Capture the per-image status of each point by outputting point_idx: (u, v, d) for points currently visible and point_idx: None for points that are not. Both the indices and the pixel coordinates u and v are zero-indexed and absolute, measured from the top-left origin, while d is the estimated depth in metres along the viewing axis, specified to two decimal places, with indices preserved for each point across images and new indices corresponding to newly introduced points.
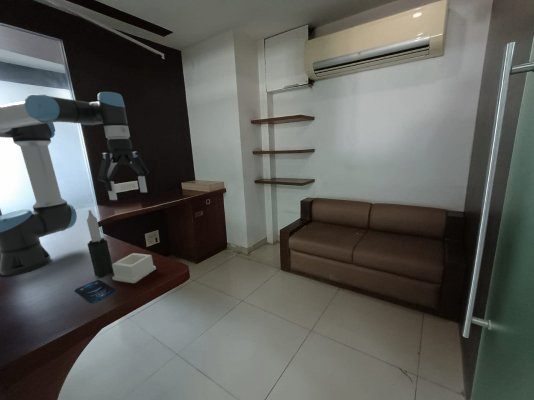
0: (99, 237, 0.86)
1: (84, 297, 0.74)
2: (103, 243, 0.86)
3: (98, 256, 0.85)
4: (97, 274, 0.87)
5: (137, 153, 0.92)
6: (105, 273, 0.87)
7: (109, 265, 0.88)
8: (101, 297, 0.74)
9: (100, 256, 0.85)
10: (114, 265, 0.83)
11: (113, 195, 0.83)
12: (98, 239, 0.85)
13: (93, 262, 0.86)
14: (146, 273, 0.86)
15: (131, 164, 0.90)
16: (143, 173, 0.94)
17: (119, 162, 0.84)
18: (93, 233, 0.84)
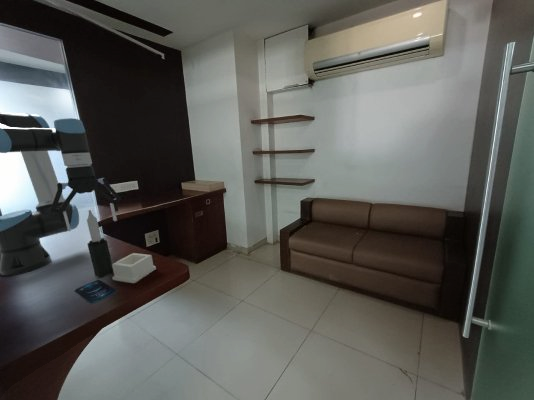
0: (99, 237, 0.86)
1: (84, 297, 0.74)
2: (103, 243, 0.86)
3: (98, 256, 0.85)
4: (97, 274, 0.87)
5: (104, 180, 0.84)
6: (105, 273, 0.87)
7: (109, 265, 0.88)
8: (101, 297, 0.74)
9: (100, 256, 0.85)
10: (114, 265, 0.83)
11: (66, 226, 0.79)
12: (98, 239, 0.85)
13: (93, 262, 0.86)
14: (146, 273, 0.86)
15: None
16: (112, 201, 0.87)
17: (74, 192, 0.79)
18: (93, 233, 0.84)
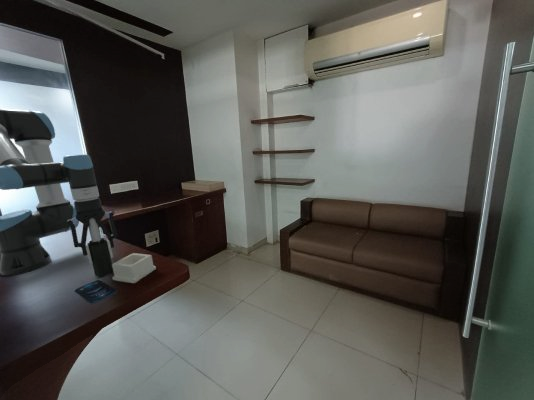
0: (99, 237, 0.86)
1: (84, 297, 0.74)
2: (103, 243, 0.86)
3: (98, 256, 0.85)
4: (97, 274, 0.87)
5: (110, 214, 0.87)
6: (105, 273, 0.87)
7: (109, 265, 0.88)
8: (101, 297, 0.74)
9: (100, 256, 0.85)
10: (114, 265, 0.83)
11: None
12: (98, 239, 0.85)
13: (93, 262, 0.86)
14: (146, 273, 0.86)
15: None
16: (109, 237, 0.88)
17: (86, 225, 0.82)
18: (93, 233, 0.84)
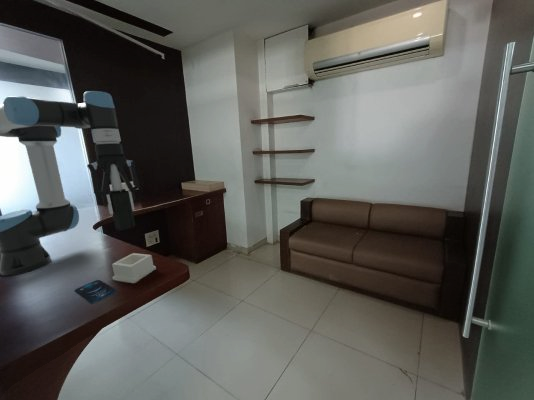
0: (120, 186, 0.79)
1: (84, 297, 0.74)
2: (125, 193, 0.80)
3: (120, 207, 0.78)
4: (118, 227, 0.80)
5: (132, 162, 0.81)
6: (127, 226, 0.81)
7: (130, 218, 0.82)
8: (101, 297, 0.74)
9: (121, 206, 0.79)
10: (114, 265, 0.83)
11: (109, 209, 0.78)
12: (119, 188, 0.79)
13: (114, 213, 0.80)
14: (146, 273, 0.86)
15: (120, 173, 0.80)
16: (130, 187, 0.81)
17: (107, 171, 0.76)
18: (114, 180, 0.78)
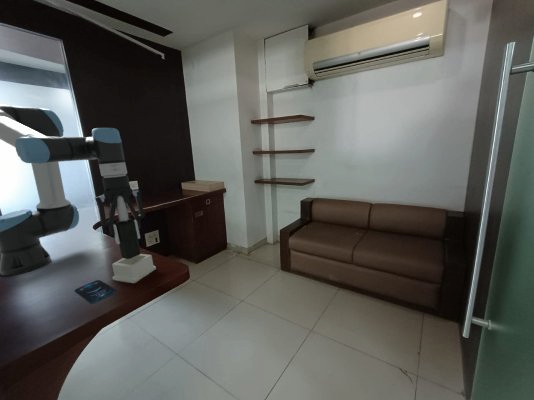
0: (127, 216, 0.82)
1: (84, 297, 0.74)
2: (131, 223, 0.82)
3: (126, 237, 0.81)
4: (124, 255, 0.82)
5: (138, 193, 0.83)
6: (133, 255, 0.83)
7: (136, 246, 0.84)
8: (101, 297, 0.74)
9: (128, 236, 0.81)
10: (114, 265, 0.83)
11: (116, 239, 0.81)
12: (126, 218, 0.81)
13: (120, 243, 0.82)
14: (146, 273, 0.86)
15: None
16: (136, 217, 0.84)
17: (114, 203, 0.78)
18: (121, 211, 0.80)
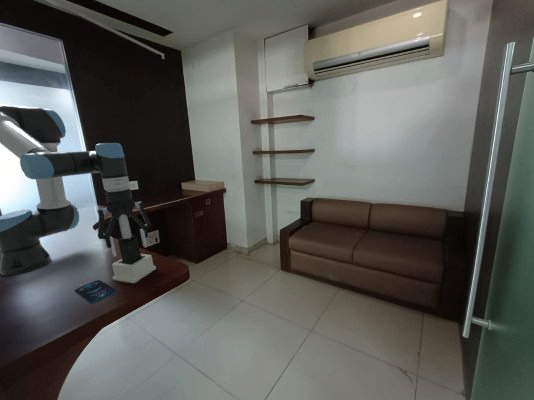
0: (130, 234, 0.83)
1: (84, 297, 0.74)
2: (134, 240, 0.83)
3: (129, 254, 0.82)
4: None
5: (141, 204, 0.84)
6: None
7: None
8: (101, 297, 0.74)
9: (131, 253, 0.83)
10: (114, 265, 0.83)
11: (112, 252, 0.81)
12: (129, 236, 0.83)
13: (124, 260, 0.83)
14: (146, 273, 0.86)
15: None
16: (143, 227, 0.86)
17: (115, 216, 0.79)
18: (124, 229, 0.82)
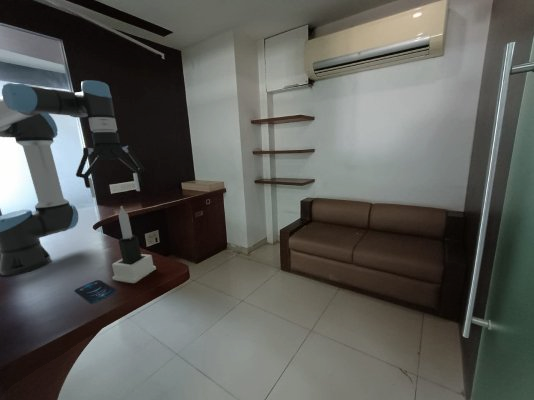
0: (130, 234, 0.83)
1: (84, 297, 0.74)
2: (134, 240, 0.83)
3: (129, 254, 0.82)
4: None
5: (128, 148, 0.83)
6: None
7: None
8: (101, 297, 0.74)
9: (131, 253, 0.83)
10: (114, 265, 0.83)
11: (91, 192, 0.78)
12: (129, 236, 0.83)
13: (124, 260, 0.84)
14: (146, 273, 0.86)
15: (121, 160, 0.83)
16: (136, 170, 0.86)
17: (99, 157, 0.78)
18: (125, 229, 0.82)
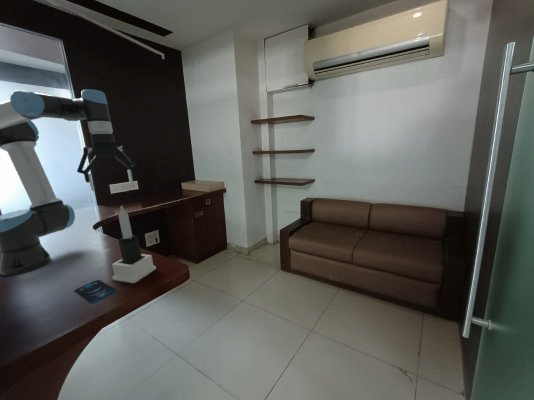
0: (130, 234, 0.83)
1: (84, 297, 0.74)
2: (134, 240, 0.83)
3: (130, 254, 0.82)
4: None
5: (123, 147, 0.95)
6: None
7: None
8: (102, 297, 0.74)
9: (131, 253, 0.83)
10: (114, 265, 0.83)
11: (91, 186, 0.90)
12: (129, 236, 0.83)
13: (124, 260, 0.84)
14: (146, 273, 0.86)
15: (116, 158, 0.95)
16: (129, 167, 0.97)
17: (98, 156, 0.89)
18: (125, 229, 0.82)
